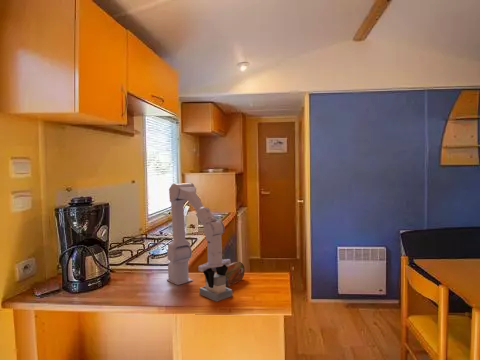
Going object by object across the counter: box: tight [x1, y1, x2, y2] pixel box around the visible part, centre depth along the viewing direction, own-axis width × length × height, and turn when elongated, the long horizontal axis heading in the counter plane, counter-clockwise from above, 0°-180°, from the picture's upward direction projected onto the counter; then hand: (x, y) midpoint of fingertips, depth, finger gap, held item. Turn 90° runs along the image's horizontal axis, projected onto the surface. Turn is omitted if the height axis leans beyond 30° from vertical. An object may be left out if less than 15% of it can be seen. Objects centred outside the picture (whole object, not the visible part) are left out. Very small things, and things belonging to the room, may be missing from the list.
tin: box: [225, 261, 246, 287], centre depth 152 cm, size 15×3×8 cm, turn 143°
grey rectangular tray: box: [199, 285, 233, 302], centre depth 138 cm, size 11×8×2 cm
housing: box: [204, 272, 227, 294], centre depth 138 cm, size 4×8×6 cm, turn 42°
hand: (215, 285), depth 138 cm, fingers closed on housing, 4 cm apart
